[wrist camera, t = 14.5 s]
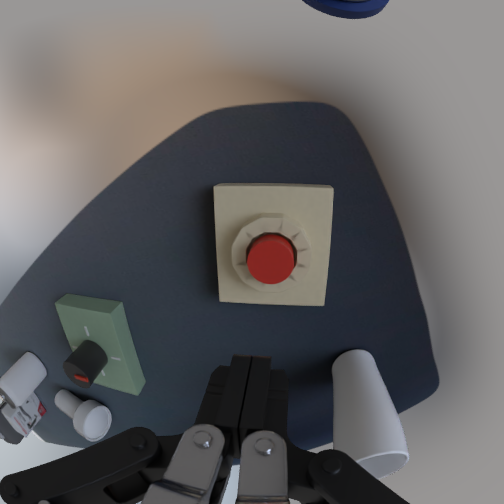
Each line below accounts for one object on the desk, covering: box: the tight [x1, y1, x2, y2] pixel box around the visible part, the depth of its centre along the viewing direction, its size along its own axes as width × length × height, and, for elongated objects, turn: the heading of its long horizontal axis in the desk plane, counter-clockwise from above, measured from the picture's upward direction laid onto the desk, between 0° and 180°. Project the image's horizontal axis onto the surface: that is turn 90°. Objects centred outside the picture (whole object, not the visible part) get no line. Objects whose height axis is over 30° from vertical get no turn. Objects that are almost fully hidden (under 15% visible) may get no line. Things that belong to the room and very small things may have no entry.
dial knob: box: [63, 340, 108, 388], centre depth 29 cm, size 4×4×5 cm
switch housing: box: [214, 183, 333, 306], centre depth 25 cm, size 11×10×4 cm
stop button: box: [247, 234, 294, 284], centre depth 22 cm, size 4×4×2 cm
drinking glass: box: [332, 349, 409, 479], centre depth 24 cm, size 7×7×15 cm
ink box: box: [1, 391, 46, 437], centre depth 43 cm, size 9×5×12 cm, turn 0°
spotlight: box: [55, 389, 111, 441], centre depth 39 cm, size 8×11×8 cm
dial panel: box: [55, 293, 146, 395], centre depth 33 cm, size 14×10×3 cm
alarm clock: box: [0, 400, 24, 444], centre depth 49 cm, size 16×11×16 cm
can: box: [0, 352, 47, 409], centre depth 36 cm, size 6×6×12 cm
